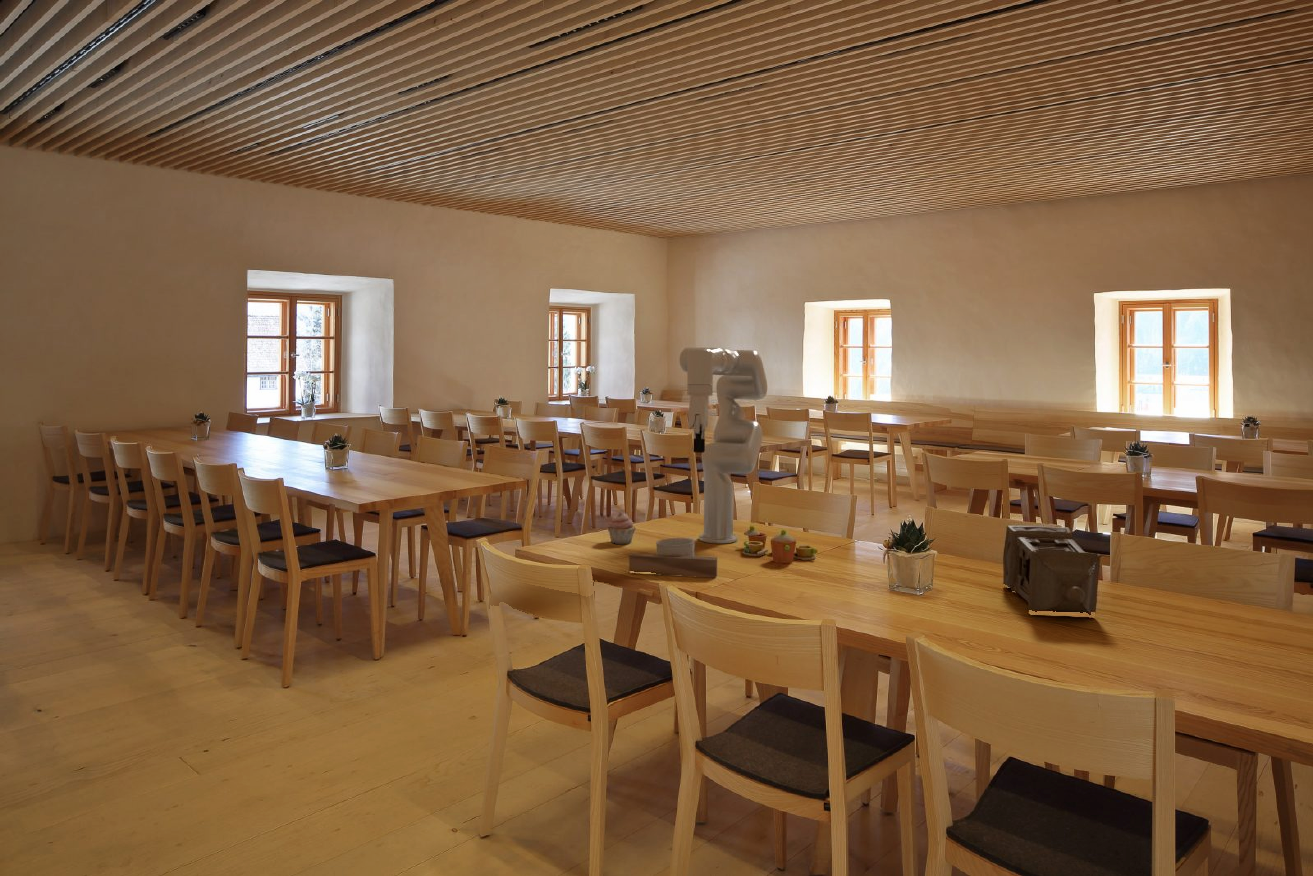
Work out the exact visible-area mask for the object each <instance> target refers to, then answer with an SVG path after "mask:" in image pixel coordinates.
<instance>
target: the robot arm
mask: <svg viewBox="0 0 1313 876" xmlns="http://www.w3.org/2000/svg"><path fill="white" fill-rule="evenodd" d="M678 363H679V366H680V368H681V370H682V371H683V372H685V373H686V374H687V375H686V376H687V377H686V384H687V385H686V396H689V406H688V426H687V427H688V429H689V430H692V429H693V450H692V451H693V453H701V463H702V469H703V533H700V534H698V540H699V541H701V542H705V543H709V544H731V543H735V542H737V541H738V539H739V536H738V535H737V534H734V494H735V492H734V491H735V489H734V484H733V481H732V480H731V478H730V476H729V475H728V474H750V473H752V472H753V471H754V470H755V467H756V465H757V461H758V457H759V453H760V449H761V446H762V442H763V428H762V426H761V424H760V423H759V422H757V421H755V420H747V419H746V413H745V411H744V409H743V407H742V406H741V405H740V404H739V403H738V402H737V401H736V400H744V401H745V400H746V401H747V400H750V401H752V400H753V401H759V400H763V399H764V398H765V397H766V396H767V394H768V393H767V392H768V380H767V377H766V373H765V368H764V363H763V361H762V357H761V356H760V354H759V352H757V351H755V349H754V350H751V349H749V350H748V349H747V350H746V349H745V350H744V349H730V348H729V349H727V348H722V347H695V346H694V347H685V348H684V349H682V351H681V352H680V355H679V362H678ZM714 376H720V377H719V378H718V379H717V380H716V381H717V382H716V387H715V389H716V390H715V392H716V398H717V403H718V408H719V415H718V418H717V421H716V425H715V427H714V430H713V434H712V435H713V442H710V443H707V444H706V438H705V430H706V428H707V427H708V423H709V403H710V402H709V398H710V397H711V396H713V393H714V392H713V391H714V390H713V385H714V381H713V380H714V378H713V377H714Z"/></svg>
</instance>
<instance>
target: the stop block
mask: <svg viewBox="0 0 1313 876" xmlns="http://www.w3.org/2000/svg"><path fill="white" fill-rule="evenodd" d="M629 571H634V572H651V573H656V574H661V575H660V576H664V575H682V576H681V577H685V576H696V577H695V578H706V577H714V578H713V579H716V578H717V576H718V557H716V556H713V557H712V556H696V555H694V556H676V555H657V554H649V553H630V554H629V555H628V572H629Z"/></svg>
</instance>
